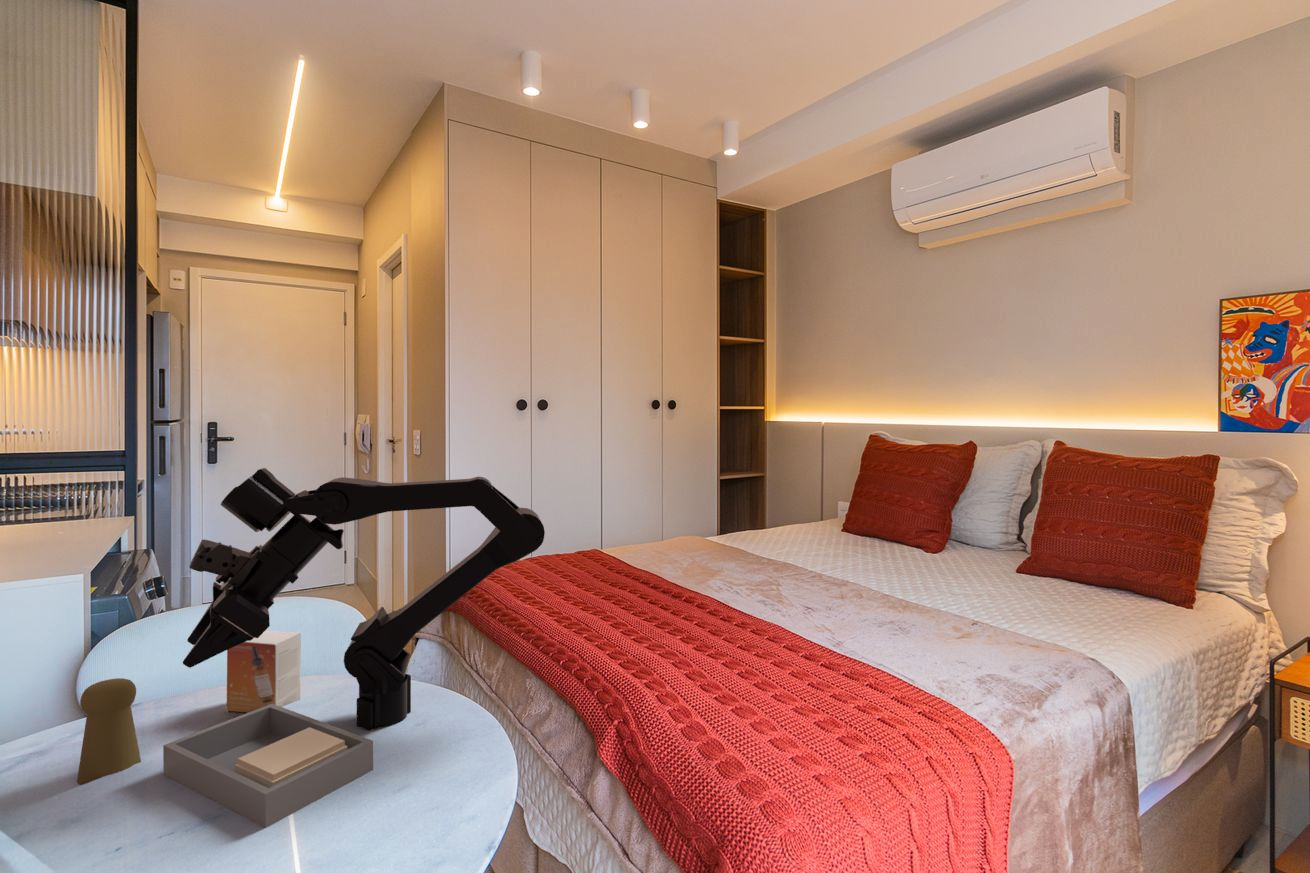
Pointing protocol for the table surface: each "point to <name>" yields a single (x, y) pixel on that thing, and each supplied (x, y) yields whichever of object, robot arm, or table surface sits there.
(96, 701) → the cork
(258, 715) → the tray
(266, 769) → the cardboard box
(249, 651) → the small box
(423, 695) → the table surface
